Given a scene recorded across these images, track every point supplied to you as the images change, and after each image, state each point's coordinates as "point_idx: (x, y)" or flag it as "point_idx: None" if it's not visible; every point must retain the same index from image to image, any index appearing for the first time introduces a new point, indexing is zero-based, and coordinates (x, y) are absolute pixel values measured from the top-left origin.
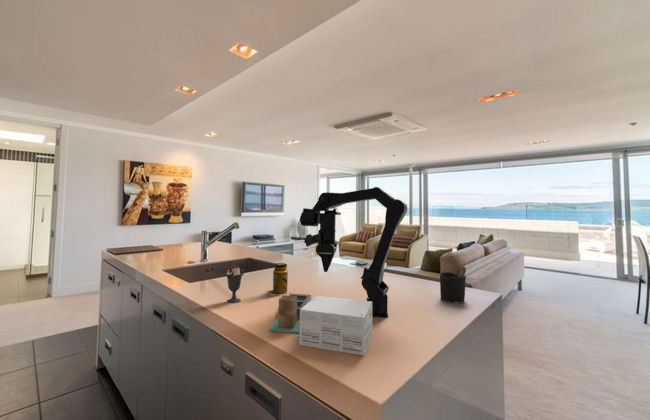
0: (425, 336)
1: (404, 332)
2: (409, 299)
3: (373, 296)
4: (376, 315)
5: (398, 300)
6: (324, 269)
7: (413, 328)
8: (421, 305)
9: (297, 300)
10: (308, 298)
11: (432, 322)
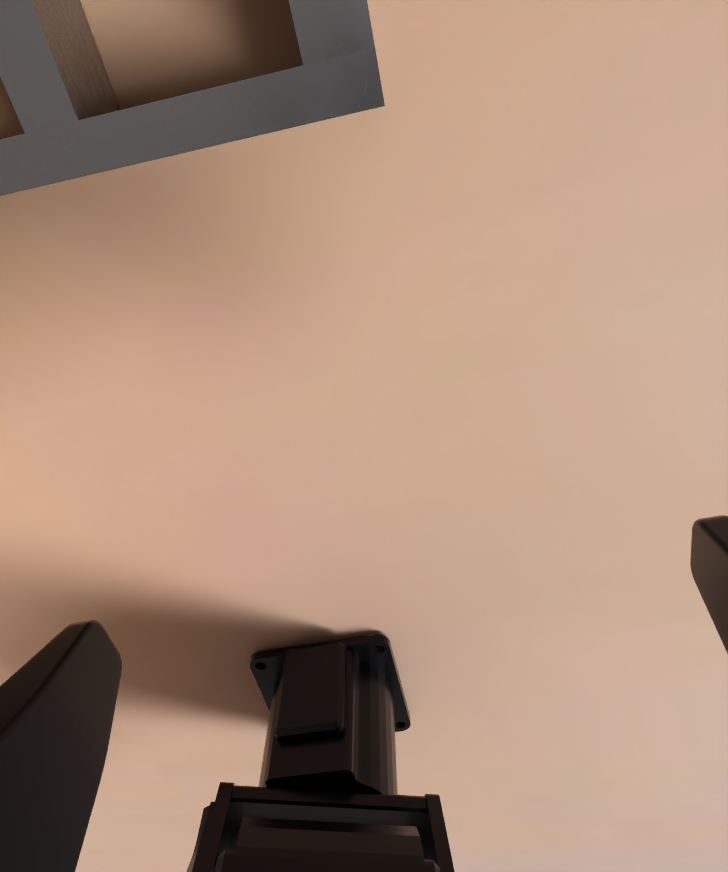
0: (126, 846)
1: (117, 794)
2: (706, 800)
3: (200, 827)
4: (264, 695)
5: (670, 757)
6: (30, 681)
7: (192, 817)
8: (585, 842)
9: (19, 6)
10: (195, 140)
11: None
